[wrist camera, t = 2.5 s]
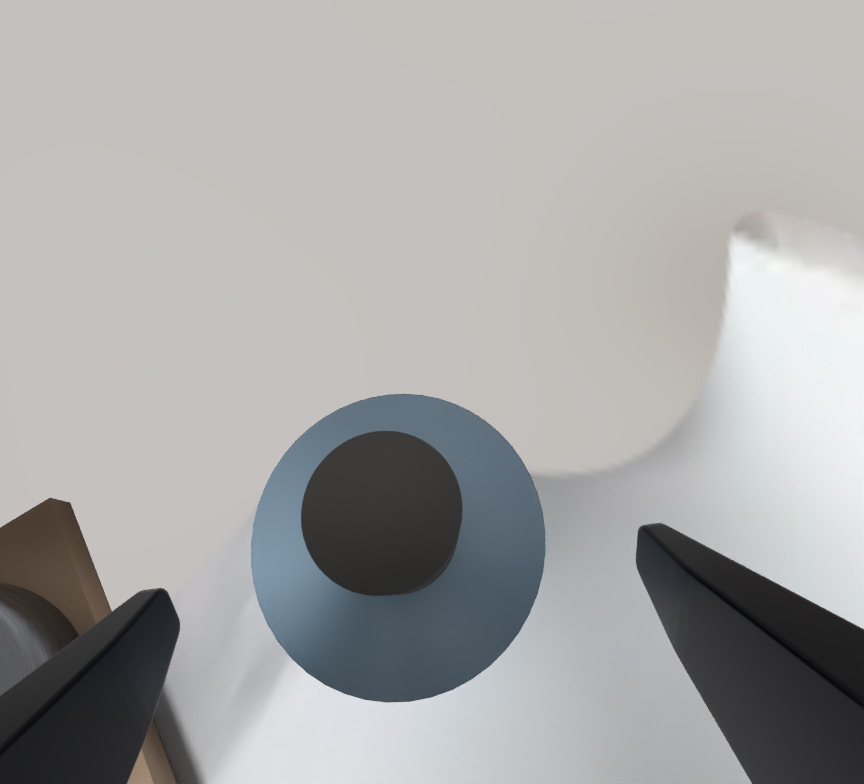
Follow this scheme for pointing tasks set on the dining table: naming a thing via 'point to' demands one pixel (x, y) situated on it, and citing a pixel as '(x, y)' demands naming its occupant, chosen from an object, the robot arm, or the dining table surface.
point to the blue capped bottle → (398, 548)
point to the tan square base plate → (55, 606)
